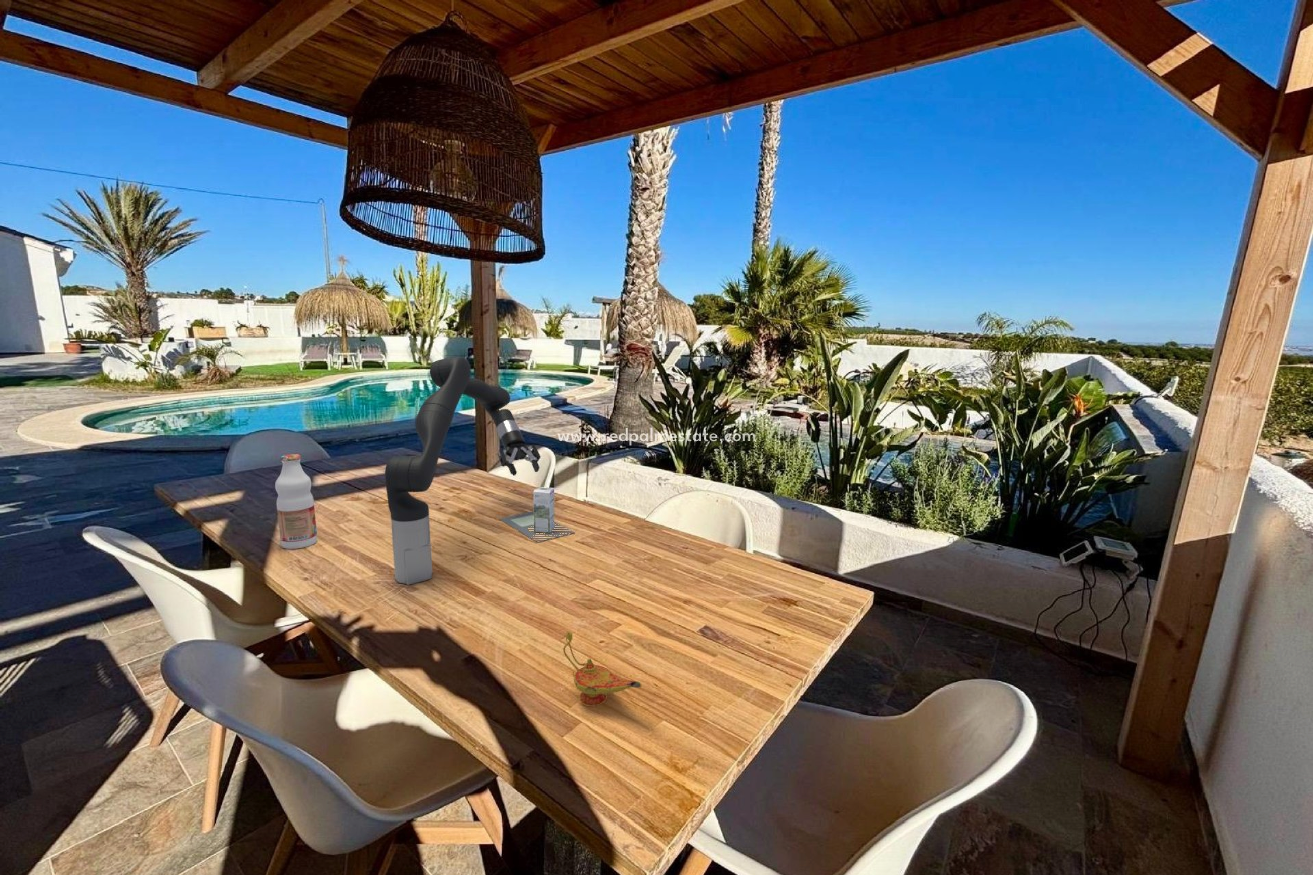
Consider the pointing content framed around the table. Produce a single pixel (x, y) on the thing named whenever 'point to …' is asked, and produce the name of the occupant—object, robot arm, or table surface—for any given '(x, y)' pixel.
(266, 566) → the table surface
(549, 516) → the syrup box
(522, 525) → the mat
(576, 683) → the magic lamp
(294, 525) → the fruit juice
